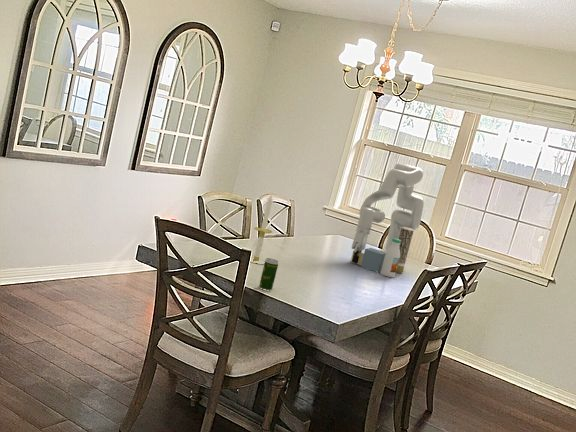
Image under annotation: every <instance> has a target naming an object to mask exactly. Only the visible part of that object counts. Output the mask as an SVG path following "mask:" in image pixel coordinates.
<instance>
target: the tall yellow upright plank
mask: <svg viewBox="0 0 576 432" xmlns="http://www.w3.org/2000/svg"><path fill="white" fill-rule="evenodd" d="M352 250H353V251H352V254H351V260H350V263H354V262H352V259H353V255H354V249H352ZM363 255H364V252H359V259H358V263H354V264H356V265H359V266H361V263H362V259H363Z"/></svg>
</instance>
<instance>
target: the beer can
mask: <svg viewBox="0 0 576 432" xmlns="http://www.w3.org/2000/svg"><path fill="white" fill-rule="evenodd" d="M264 262H265V263H264V265H263V269H262V273H261V276H260V280H259V285H258V287H260V288H262V289H266V290H271V291H272V290H273V287H274V283H275V279H276V275H277V270H278V267H279V260H277V259H275V258H270V257H267V258H265V260H264ZM260 288H259V289H260ZM262 289H261V290H262Z"/></svg>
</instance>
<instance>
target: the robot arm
mask: <svg viewBox="0 0 576 432" xmlns="http://www.w3.org/2000/svg"><path fill="white" fill-rule="evenodd" d="M423 176H424V171H423V170H422V168H420V167H417V166H413V165H411V164H410V165H409V164H406V163H396V164H395V165H394V168H391V169H390V170H389V171H388V173H387V174H386V177H385V178H384V179H383V182H382V184H381V186H380V187H379V189H378V190H376V191H374V192H372V193H371V194H370V195H368V196H367V197H366V198H365V200H364V201H363V202H362V205H361V206H360V209H359V212H358V213H359V217H358V221H357V224H356V225H357V226H356V229H355V235H354V238H353V241H352V244H351V249H352V250H354V255H353V259H352V262H351V263H353V262H354V264H356V263H358V259H359V252H361V253H363V251H365V249H366V245H367V241H368V237H369V235H370V233H371V229H372V226H373V223H376V224H380V223H382V222H383V221H384V220H385V218H386V213H385V212H384V211H383V210H382V209H380V208H376V207H372V205H374V203H376V202H379V201H384V200H390V199H392V198H393V197H394V196H395V193H396V191H397V190H398V192H397V196H396V205H397V207H399V208H401V209H395V210H393V211H392V213H391V216H390V223H389V229H388V234H387V238H386V242H385V245H384V249H383V252H387V250H388V249H389V247H390V246H391V244H392V239H393V238H395V239H399V236H400V232H401V228H402V227H407V228H411V229H413V230H414V231H416V230H418V229H419V227H420V225H421V221H422V216H423V211H424V210H423V209H424V199H423V198H422V196H419V195H416V194H414V188H415V185H416V184H419V183H420V182H421V181H422V180H423ZM410 211H411V212H410Z"/></svg>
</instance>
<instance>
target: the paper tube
mask: <svg viewBox="0 0 576 432" xmlns="http://www.w3.org/2000/svg"><path fill="white" fill-rule="evenodd" d="M414 231H415V230H413V229H411V228H407V227H402V228H401V232H400V236H399V240H401V243H400V245H399V249H400V259H399V263H398V267H397V270H396V272H397V273H398V274H402V273H403V272H404V269H405V266H406V262H407V258H408V255H409V251H410V246H411V242H412V238H413V235H414Z"/></svg>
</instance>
